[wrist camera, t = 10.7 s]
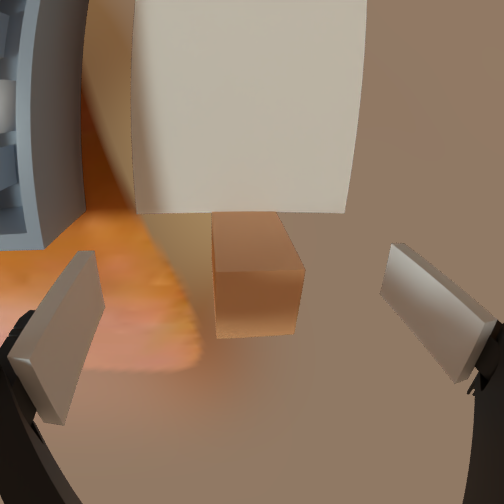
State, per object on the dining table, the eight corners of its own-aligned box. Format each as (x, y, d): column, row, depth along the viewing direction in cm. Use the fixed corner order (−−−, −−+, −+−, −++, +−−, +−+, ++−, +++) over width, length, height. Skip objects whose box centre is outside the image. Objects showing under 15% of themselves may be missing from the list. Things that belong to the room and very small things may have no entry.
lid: (155, -79, 10) (131, -150, 3) (351, -61, 11) (422, -108, 4) (148, 250, 20) (125, 339, 13) (324, 247, 22) (373, 325, 15)
